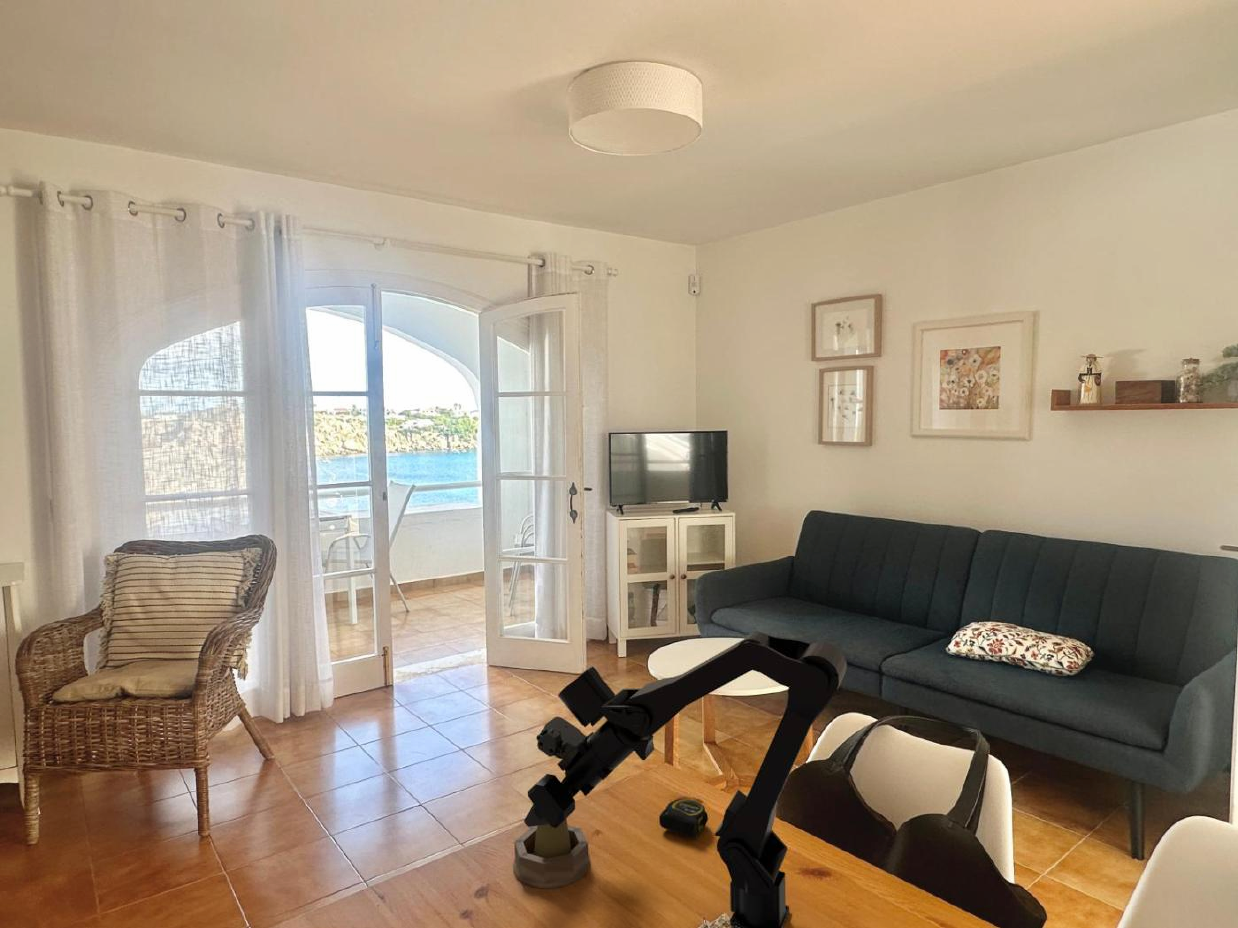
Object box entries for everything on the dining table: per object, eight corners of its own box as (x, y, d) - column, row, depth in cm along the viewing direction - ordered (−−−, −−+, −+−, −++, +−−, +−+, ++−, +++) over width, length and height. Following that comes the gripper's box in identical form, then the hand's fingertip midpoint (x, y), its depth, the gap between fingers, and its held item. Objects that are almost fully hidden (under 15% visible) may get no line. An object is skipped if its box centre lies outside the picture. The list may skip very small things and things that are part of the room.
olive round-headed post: (574, 870, 112) (573, 798, 112) (533, 875, 111) (531, 802, 111) (571, 847, 118) (569, 779, 118) (532, 851, 117) (530, 783, 117)
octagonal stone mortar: (603, 853, 117) (602, 831, 117) (564, 896, 107) (563, 872, 107) (540, 836, 123) (540, 815, 122) (497, 875, 112) (497, 852, 112)
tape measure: (657, 832, 123) (656, 810, 123) (679, 813, 129) (678, 792, 129) (693, 845, 119) (693, 822, 119) (714, 825, 125) (714, 803, 125)
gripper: (597, 684, 120) (539, 741, 125) (537, 729, 103) (473, 793, 108) (644, 740, 117) (583, 796, 123) (591, 796, 100) (522, 858, 106)
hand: (542, 808), depth 115 cm, fingers open, 9 cm apart
